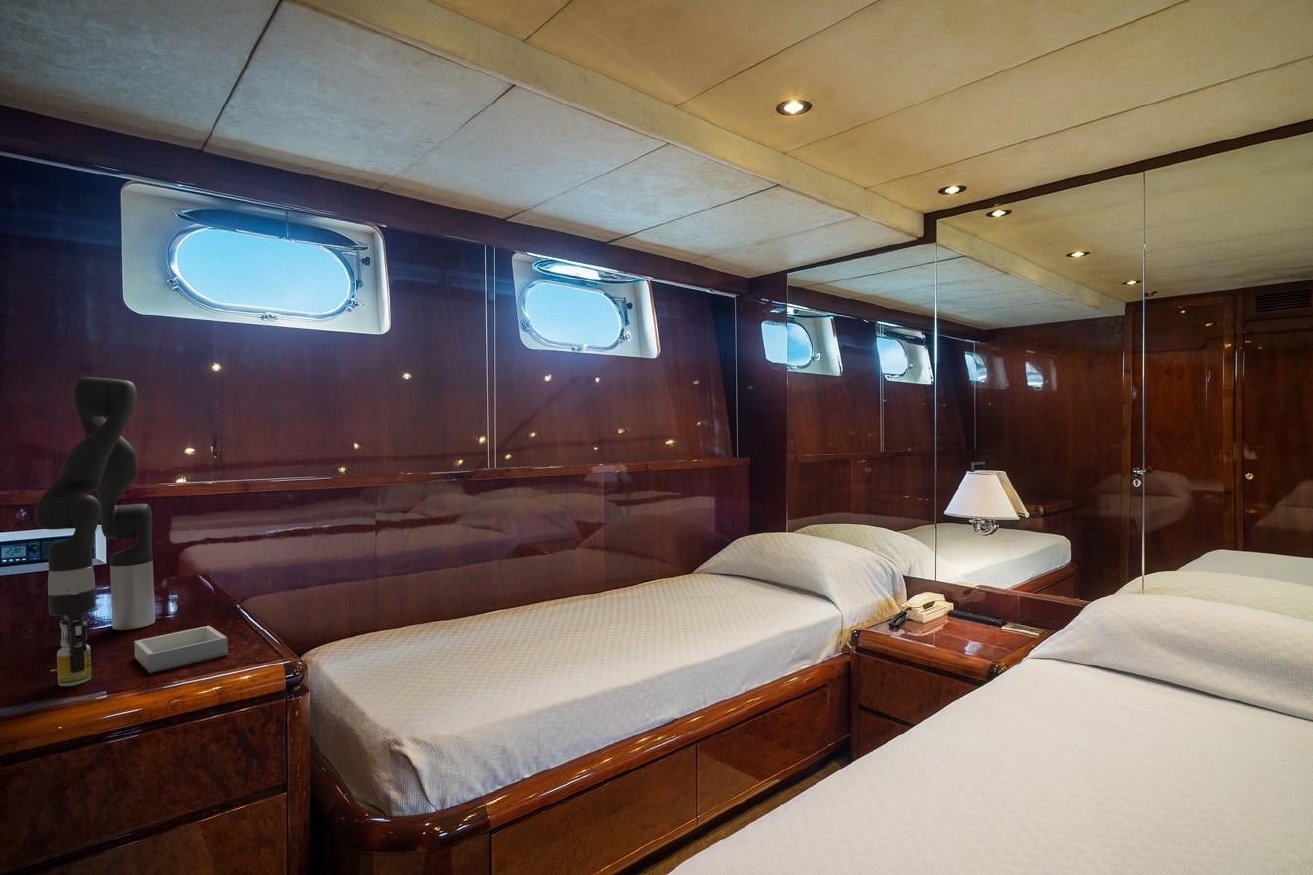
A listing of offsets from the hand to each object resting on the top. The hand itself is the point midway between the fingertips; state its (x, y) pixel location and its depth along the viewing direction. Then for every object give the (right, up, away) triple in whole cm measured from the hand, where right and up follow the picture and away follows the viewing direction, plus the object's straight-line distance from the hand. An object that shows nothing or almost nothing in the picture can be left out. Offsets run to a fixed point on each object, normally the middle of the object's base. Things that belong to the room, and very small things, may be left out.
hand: (75, 667), depth 142 cm
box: (+12, -2, +15) cm, 19 cm away
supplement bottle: (0, -3, 0) cm, 3 cm away
